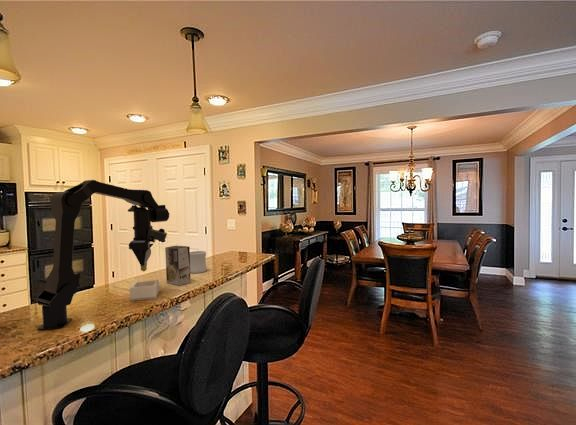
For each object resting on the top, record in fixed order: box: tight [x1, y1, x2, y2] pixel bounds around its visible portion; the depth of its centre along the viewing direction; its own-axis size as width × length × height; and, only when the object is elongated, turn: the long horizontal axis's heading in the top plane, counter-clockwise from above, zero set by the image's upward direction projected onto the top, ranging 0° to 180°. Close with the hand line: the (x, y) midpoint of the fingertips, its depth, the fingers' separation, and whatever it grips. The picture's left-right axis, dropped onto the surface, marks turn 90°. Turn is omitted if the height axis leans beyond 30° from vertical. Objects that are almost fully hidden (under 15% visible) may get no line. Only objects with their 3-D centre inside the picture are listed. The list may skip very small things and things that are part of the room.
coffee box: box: [164, 245, 192, 286], centre depth 133 cm, size 9×6×16 cm
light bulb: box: [139, 247, 152, 272], centre depth 114 cm, size 6×5×10 cm
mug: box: [190, 250, 208, 274], centre depth 153 cm, size 12×9×10 cm
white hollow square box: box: [129, 279, 160, 302], centre depth 115 cm, size 9×9×5 cm
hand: (143, 264), depth 114 cm, fingers closed on light bulb, 5 cm apart
